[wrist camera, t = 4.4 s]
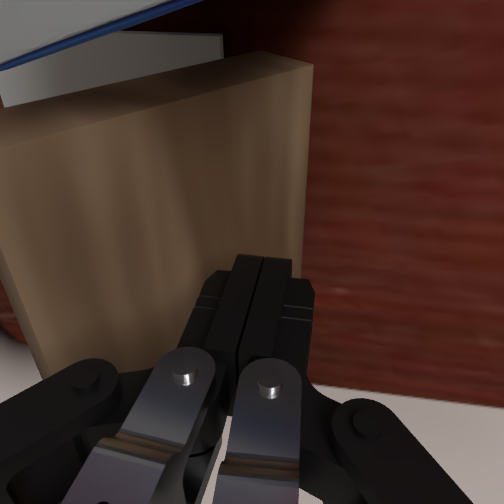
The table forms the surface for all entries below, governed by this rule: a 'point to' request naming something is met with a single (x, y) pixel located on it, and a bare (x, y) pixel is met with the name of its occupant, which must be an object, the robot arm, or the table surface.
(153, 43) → the mat
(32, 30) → the medicine box
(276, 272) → the robot arm
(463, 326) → the table surface
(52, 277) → the tile
